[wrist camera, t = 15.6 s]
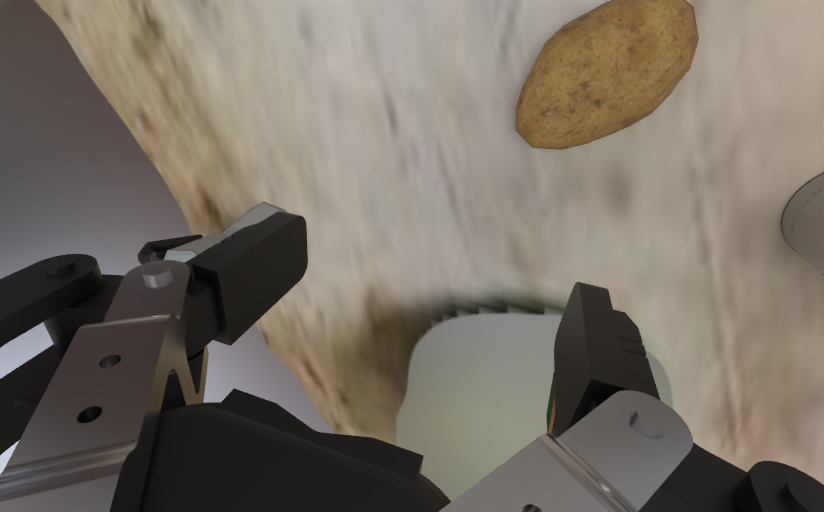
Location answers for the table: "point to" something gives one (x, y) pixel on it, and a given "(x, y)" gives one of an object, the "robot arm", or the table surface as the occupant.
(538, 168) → the table surface
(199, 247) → the coffee maker
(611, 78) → the potato
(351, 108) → the table surface
